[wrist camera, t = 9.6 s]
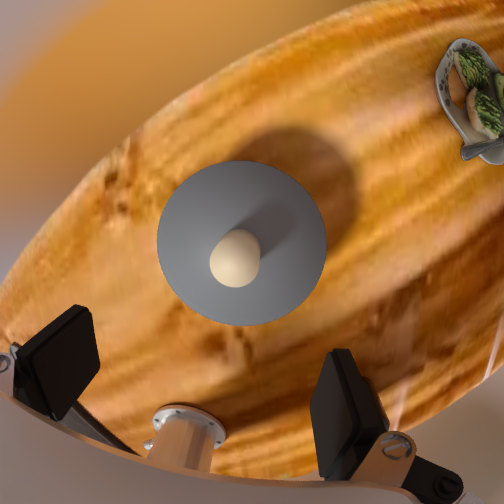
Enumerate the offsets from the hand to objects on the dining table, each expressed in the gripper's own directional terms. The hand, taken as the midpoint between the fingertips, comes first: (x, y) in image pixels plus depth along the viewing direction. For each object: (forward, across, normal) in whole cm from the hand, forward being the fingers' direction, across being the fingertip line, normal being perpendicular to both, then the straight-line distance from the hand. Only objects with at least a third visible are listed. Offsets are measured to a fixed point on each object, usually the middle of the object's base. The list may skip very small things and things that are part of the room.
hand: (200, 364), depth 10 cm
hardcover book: (+23, +30, +49) cm, 62 cm away
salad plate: (+21, -30, -25) cm, 44 cm away
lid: (+16, 0, -1) cm, 16 cm away
